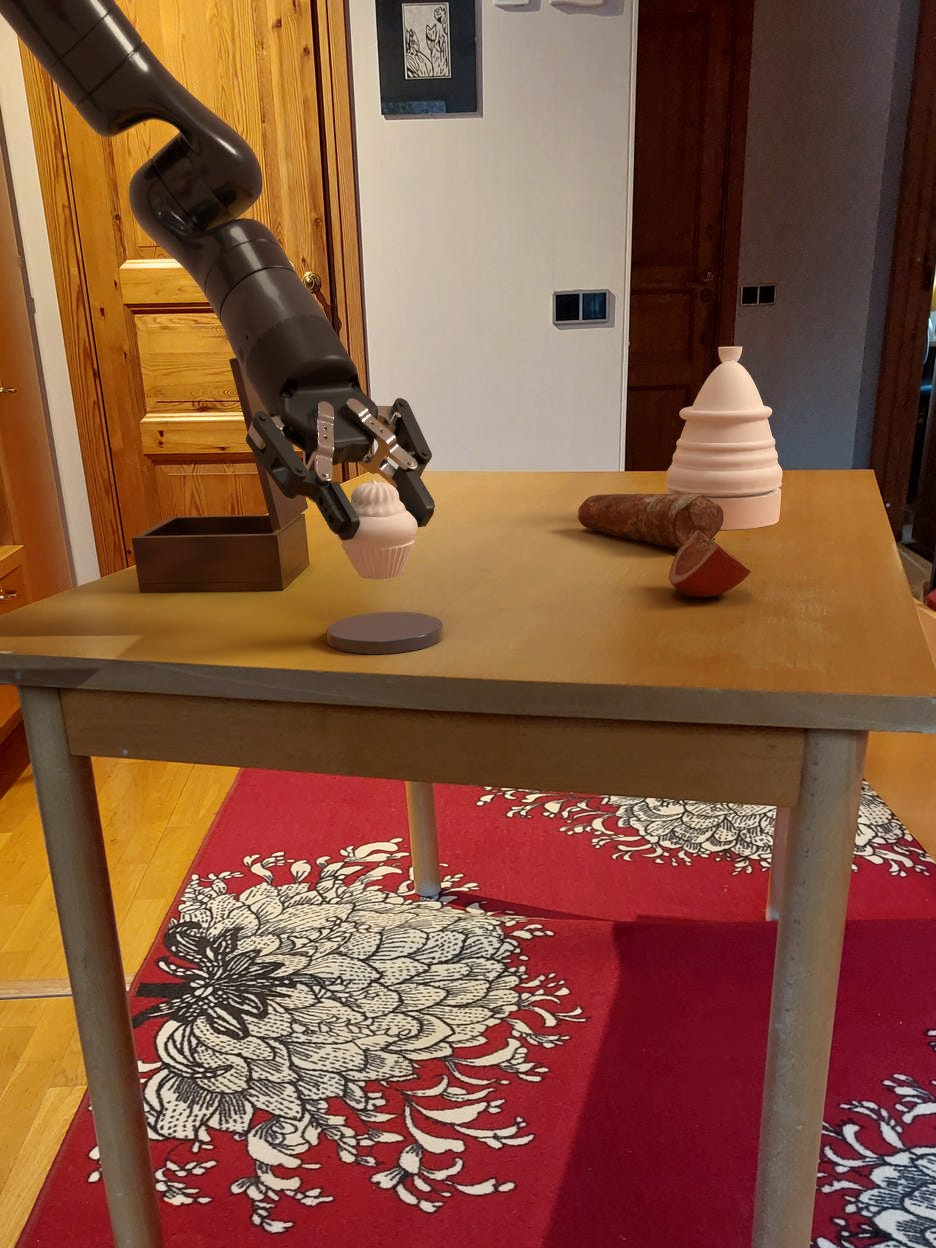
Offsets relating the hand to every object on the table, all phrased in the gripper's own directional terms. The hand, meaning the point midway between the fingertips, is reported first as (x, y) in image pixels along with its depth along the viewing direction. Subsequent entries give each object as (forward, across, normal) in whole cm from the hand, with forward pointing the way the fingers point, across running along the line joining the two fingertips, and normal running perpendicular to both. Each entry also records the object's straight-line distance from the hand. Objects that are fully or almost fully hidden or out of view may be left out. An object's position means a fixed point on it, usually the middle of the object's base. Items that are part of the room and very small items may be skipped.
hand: (390, 525), depth 86 cm
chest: (-16, +3, +28) cm, 33 cm away
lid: (-22, +7, +17) cm, 29 cm away
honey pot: (-4, +57, +17) cm, 60 cm away
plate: (+5, 0, +7) cm, 9 cm away
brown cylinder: (-3, +42, +16) cm, 45 cm away
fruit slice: (+12, +28, +1) cm, 30 cm away
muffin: (+2, 0, +4) cm, 4 cm away
